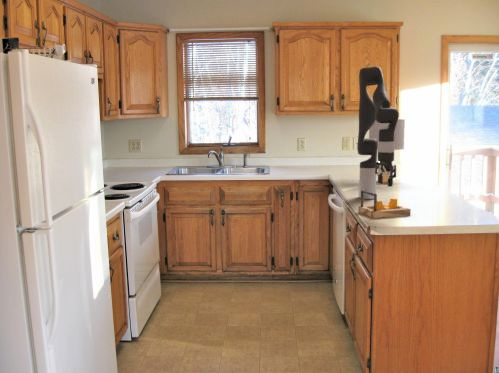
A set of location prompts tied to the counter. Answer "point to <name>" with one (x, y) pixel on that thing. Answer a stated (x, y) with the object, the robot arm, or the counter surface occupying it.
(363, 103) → the robot arm
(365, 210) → the wooden tray
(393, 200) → the pipe clamp
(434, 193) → the counter surface
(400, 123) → the lamp
